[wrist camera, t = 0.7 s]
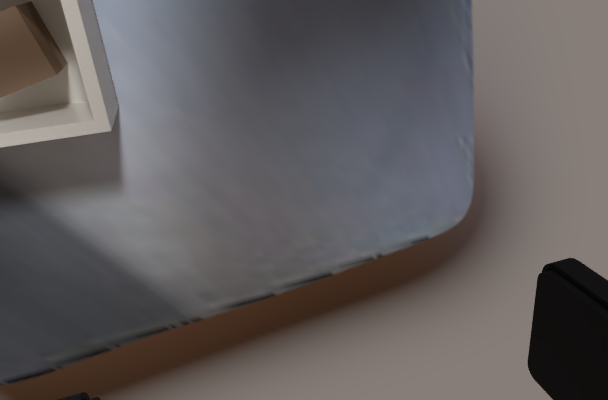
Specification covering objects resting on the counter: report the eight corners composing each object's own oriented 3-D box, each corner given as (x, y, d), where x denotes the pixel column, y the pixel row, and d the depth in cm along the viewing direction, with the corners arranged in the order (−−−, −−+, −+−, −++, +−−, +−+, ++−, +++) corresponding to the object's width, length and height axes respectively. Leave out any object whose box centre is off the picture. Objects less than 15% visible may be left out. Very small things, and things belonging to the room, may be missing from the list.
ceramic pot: (-93, -32, 25) (-153, -33, 20) (81, -46, 27) (64, -49, 22) (-30, 125, 29) (-68, 157, 24) (118, 105, 30) (111, 131, 26)
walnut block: (-32, 26, 26) (-57, 33, 23) (31, 1, 26) (14, 5, 23) (9, 87, 28) (-10, 101, 25) (67, 63, 28) (56, 74, 25)
